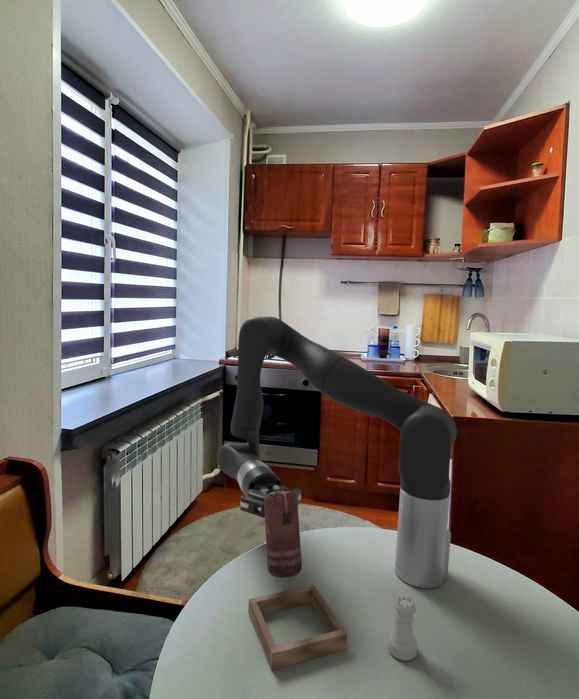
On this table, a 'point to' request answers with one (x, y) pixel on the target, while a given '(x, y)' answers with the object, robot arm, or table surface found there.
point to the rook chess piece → (403, 631)
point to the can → (282, 533)
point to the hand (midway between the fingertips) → (287, 520)
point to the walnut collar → (301, 648)
